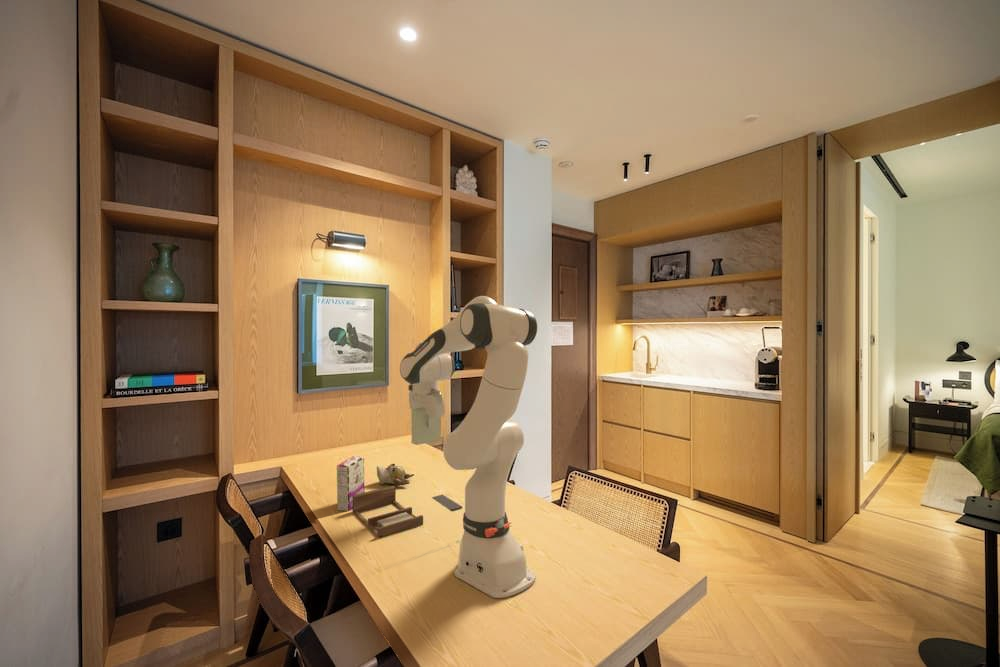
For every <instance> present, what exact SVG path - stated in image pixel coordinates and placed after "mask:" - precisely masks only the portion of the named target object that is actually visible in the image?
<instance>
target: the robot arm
mask: <svg viewBox="0 0 1000 667" xmlns="http://www.w3.org/2000/svg"><path fill="white" fill-rule="evenodd" d="M537 321H538V320H537V319H536V316H535V315H534V314H533V312H531V311H528V310H525V309H522V308H515V307H511V306H507V305H503V304H498V302H496V301H495V300H494V299H492V298H491V297H489V296H486V295H479V296H476V297H474V298H473V299H471V301H469V302H468V303H467V304H465V306H463V308H461V309H460V311H459V312H458V314H457V315H456V316H454V318H452V320H450V321H449V322H448V323H446V324H445V325H444V326H442V327H441V328H439V329H437V330H435V331H434V332H433V333H431V334H430V335H429V336H428V337H427V338H425V339H424V340H423V341H422V342H420V343H418V344H417V345H416V346H415V348H414V350H413V351H411V352H407V354H405V356H403V358H402V360H400V361H401V362H400V364H399V373H400V376H401V378H402V379H403V380H404V381H405V382H406V383H409V384H408V386H407V389H408V391H409V393H408V403H409V404H408V406H409V409H410V410H411V411H412V409H417V408H421V409H424V413H425V414H426V415H428V418H429V420H428V422H427V427H429V428H431V427H433V422H434V419H435V418H438V417H441V418H443V417H445V414H446V409H445V407H446V406H445V398H444V396H443V394H442V393H441V390H440V382H441V381H443V382H444V381H446V380H450V379H451V378H452V377H453V375H454V373H455V369H456V364H455V360H454V358H453V357H452V356H451V355H450V353H456V352H465V351H466V352H467V351H469V350H472V349H473V350H474V348H475V349H476V350H478V351H481V350H484V348H485V350H486V353H487V360H486V362H485V366H484V370H483V373H482V376H481V380H480V385H479V388H478V391H477V393H476V396H475V400H474V402H473V404H472V406H471V408H470V409H469V411H468V413H467V414H466V415H465V417H464V419H463V420H462V421H461V422H460V424H459V425H458V426H457V427H456V428H455V429H454V430H453V431H452V432H450V433H449V434H448V435H447V436H445V440H444V442H443V448H442V451H443V457H444V460H445V461H446V463H447V464H448V465H449V467H451V468H452V469H453V470H455V471H469V470H470V471H471V470H475V471H474V473H473V474H472V475H471V477H470V478H469V479H468V481H467V482H466V484H465V487H464V513H463V517H462V526H463V527H462V528H463V534H462V538H461V539H460V542H459V553H458V565H457V567H456V569H455V570H454V576H455V577H456V578H458V579H460V580H461V581H464V582H465V583H467V584H469V585H470V586H472V587H473V588H476V589H477V590H479V591H481V592H483V593H485V594H486V595H488V596H490V597H491V598H493V599H502V598H507V597H510V596H513V595H516V594H519V593H521V592H523V591H525V590H526V589H528V588H530V587H531V586H532V585H533V584H534V583H535V582H536V580H537V577H536V574H535V573H534V571H533V570H532V569H530V568H529V566H528V565H527V559H526V554H525V553H524V547H523V543H518V541H517V539H515V537H514V535H513V533H511V530H510V527H512V525H511V524H512V522H511V521H510V522H509V520H508V515H507V512H506V489H507V488H506V487H507V482H508V478H509V475H510V471H511V467H512V466H513V463H514V461H515V459H516V457H517V455H518V454H519V453H520V451H521V450H522V448H523V446H524V442H525V441H524V440H525V438H524V432H523V430H522V428H521V426H520V425H519V424H518V423H517V422H515V421H512V420H510V419H511V418H512V417H513V416H514V415H515V413H516V412H517V408H518V404H519V401H520V398H521V394H522V392H523V387H524V385H525V380H526V376H527V371H528V365H529V364H528V363H529V352H528V351H529V350H528V348H527V347H526V346H530V344H532V342H533V341H534V340H535V338H536V336H537V334H538V322H537Z"/></svg>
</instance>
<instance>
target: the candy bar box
mask: <svg viewBox="0 0 1000 667" xmlns="http://www.w3.org/2000/svg"><path fill="white" fill-rule="evenodd" d="M364 492H365V457H364V456H358V455H357V456H356V455H355V456H351V457H349V458H348V459H346V460H344V461H343V462H341V463H339V464H337V465H336V493H337V496H336V498H337V499H336V500H337V502H336V503H337V511H341V512H349V511H350V512H351V511H353V495H356V494H360V493H364Z"/></svg>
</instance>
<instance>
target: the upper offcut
mask: <svg viewBox="0 0 1000 667" xmlns="http://www.w3.org/2000/svg"><path fill="white" fill-rule="evenodd" d="M410 518H413V517H412V516H411V515H409V514H408V513H406V512H405V513H401V514H398V515H395V516H392V517H389V518H385V519H382V520H379V521H377V526H376V527H377V528H379V527H383V526H386V525H390V524H393V523H396V522H400V521H403V520H407V519H410Z"/></svg>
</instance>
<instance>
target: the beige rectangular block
mask: <svg viewBox="0 0 1000 667" xmlns="http://www.w3.org/2000/svg"><path fill="white" fill-rule="evenodd" d="M428 420H429V418H428V415H426V414H425V413H424V409H421V408H417V409H412V410H411V444H413V445H416V446H418V445H423V444H429V443H435V442H440V441H442V417H438V418H435V419H434V422H433V427H431V428H429V427H427V422H428Z"/></svg>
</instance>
